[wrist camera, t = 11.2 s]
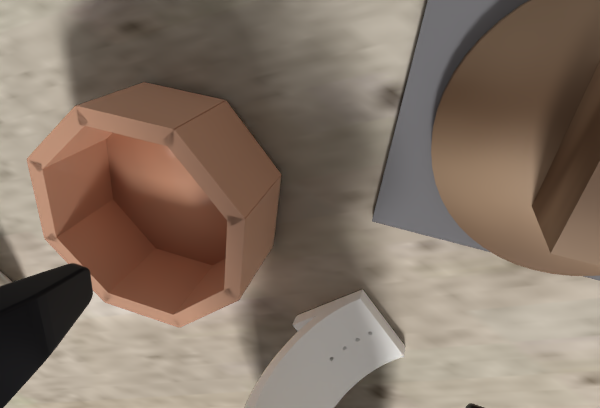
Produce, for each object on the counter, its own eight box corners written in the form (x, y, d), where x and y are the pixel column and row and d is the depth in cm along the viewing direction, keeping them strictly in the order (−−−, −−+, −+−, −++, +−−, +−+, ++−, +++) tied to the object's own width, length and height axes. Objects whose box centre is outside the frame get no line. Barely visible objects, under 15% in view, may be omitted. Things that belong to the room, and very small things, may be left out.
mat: (950, 7, 13) (964, 8, 12) (705, 303, 19) (710, 309, 18) (442, -58, 15) (442, -59, 15) (373, 217, 21) (372, 221, 21)
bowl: (290, 111, 20) (250, 147, 16) (270, 286, 26) (236, 346, 21) (93, 69, 22) (11, 90, 18) (114, 238, 28) (55, 285, 23)
